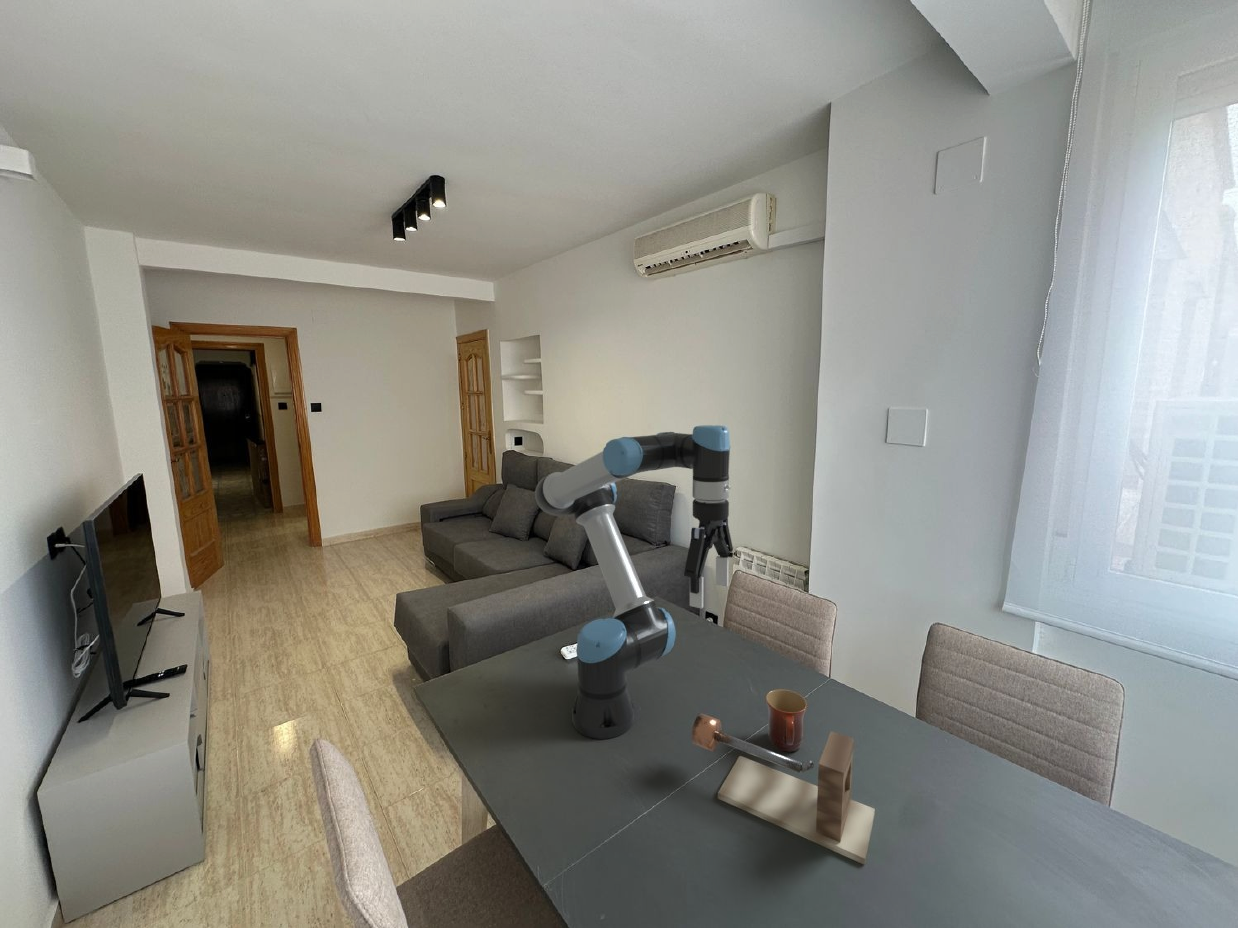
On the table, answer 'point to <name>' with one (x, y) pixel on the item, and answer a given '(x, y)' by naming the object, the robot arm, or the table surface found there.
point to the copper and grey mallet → (738, 744)
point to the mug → (785, 719)
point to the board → (794, 806)
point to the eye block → (834, 786)
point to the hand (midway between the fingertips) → (709, 595)
